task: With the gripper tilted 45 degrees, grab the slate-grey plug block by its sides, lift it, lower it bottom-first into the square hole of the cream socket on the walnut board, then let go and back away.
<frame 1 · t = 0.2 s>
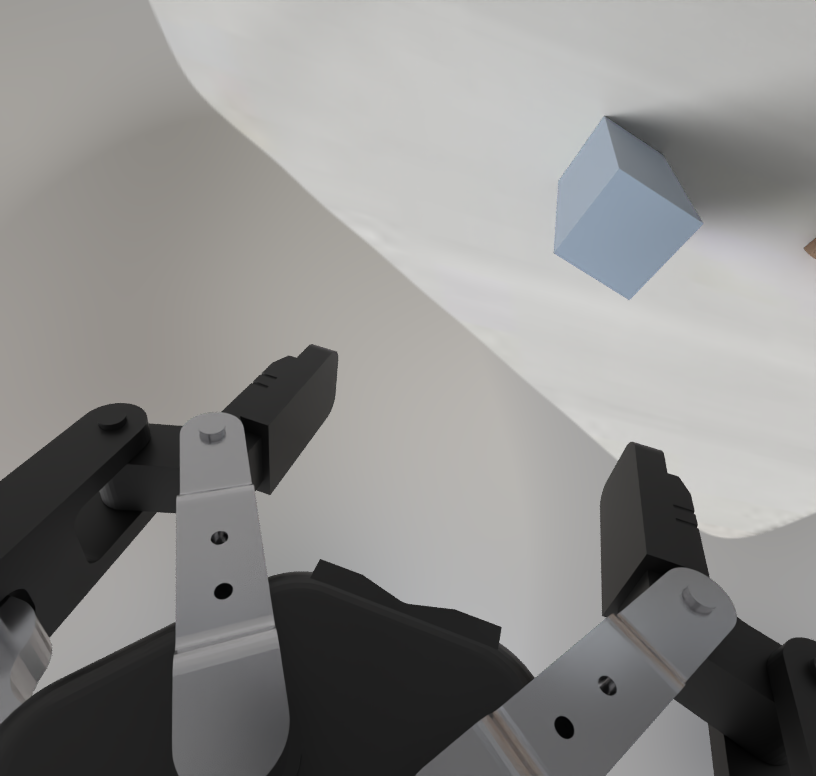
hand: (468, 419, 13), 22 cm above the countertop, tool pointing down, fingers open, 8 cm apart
plug: (608, 168, 29), on the countertop
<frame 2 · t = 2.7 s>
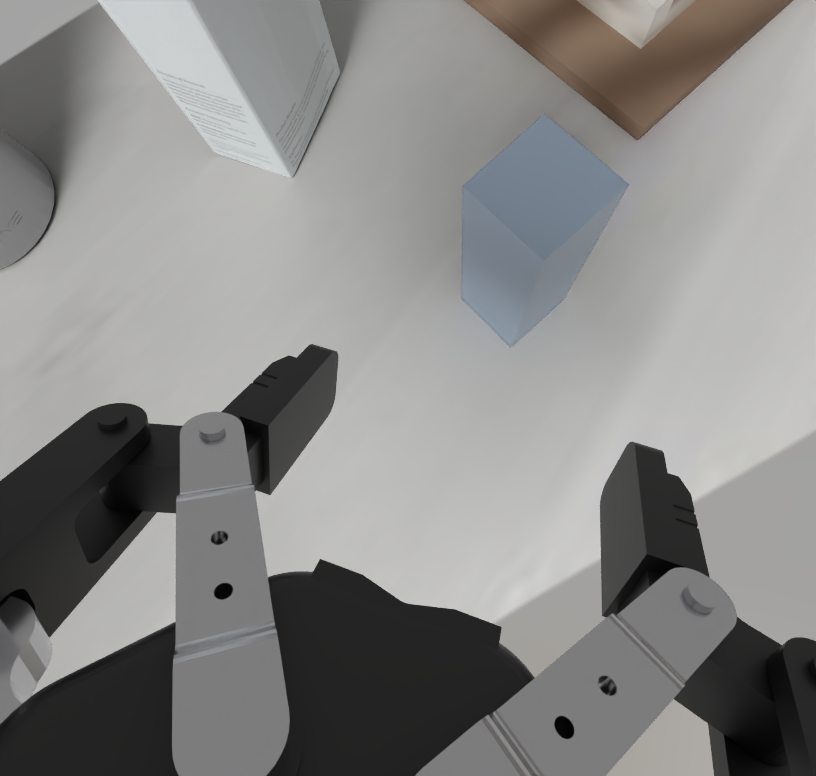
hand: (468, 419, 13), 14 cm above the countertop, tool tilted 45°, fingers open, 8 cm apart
plug: (511, 299, 28), on the countertop
skincare box: (281, 120, 32), on the countertop
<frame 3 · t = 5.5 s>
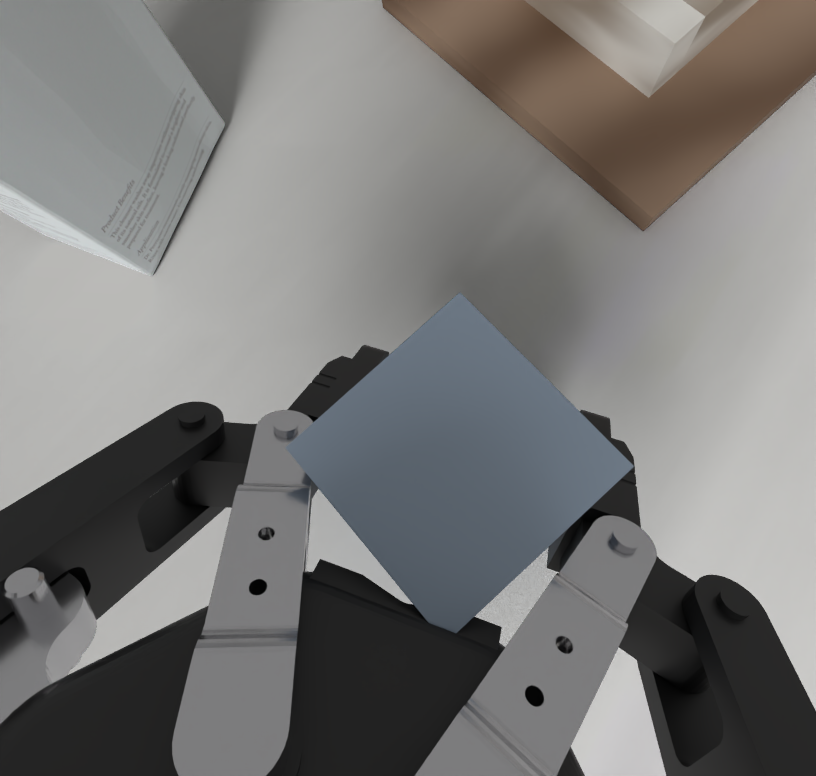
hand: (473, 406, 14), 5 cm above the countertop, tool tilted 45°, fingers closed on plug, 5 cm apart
plug: (455, 471, 19), on the countertop, touching gripper
skincare box: (144, 190, 23), on the countertop
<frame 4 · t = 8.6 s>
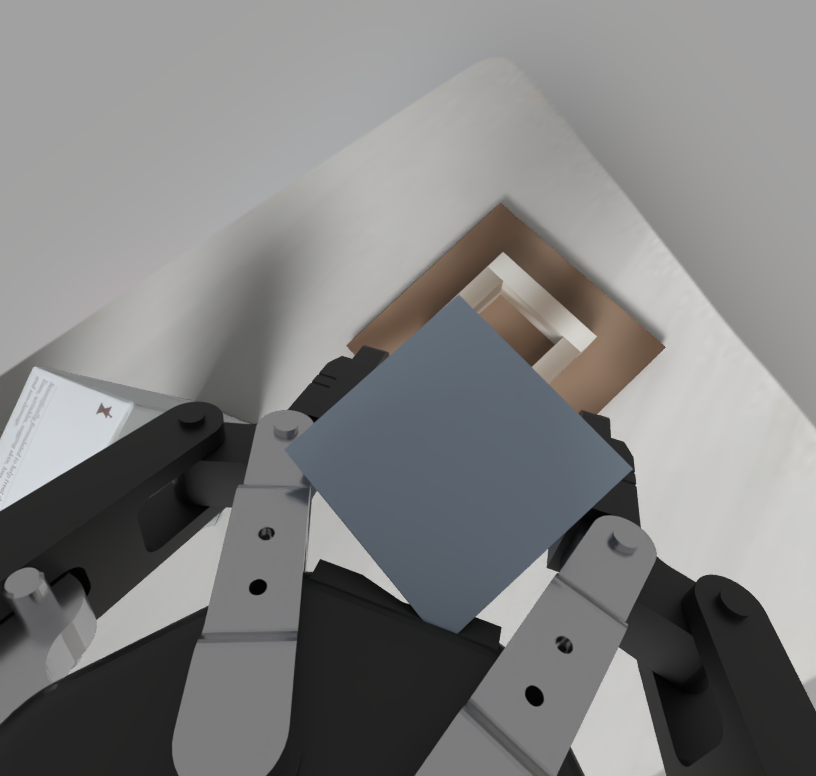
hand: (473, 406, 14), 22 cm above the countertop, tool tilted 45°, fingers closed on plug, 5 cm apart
plug: (455, 472, 19), point 17 cm above the countertop, touching gripper
socket board: (499, 350, 37), on the countertop
skincare box: (206, 466, 38), on the countertop
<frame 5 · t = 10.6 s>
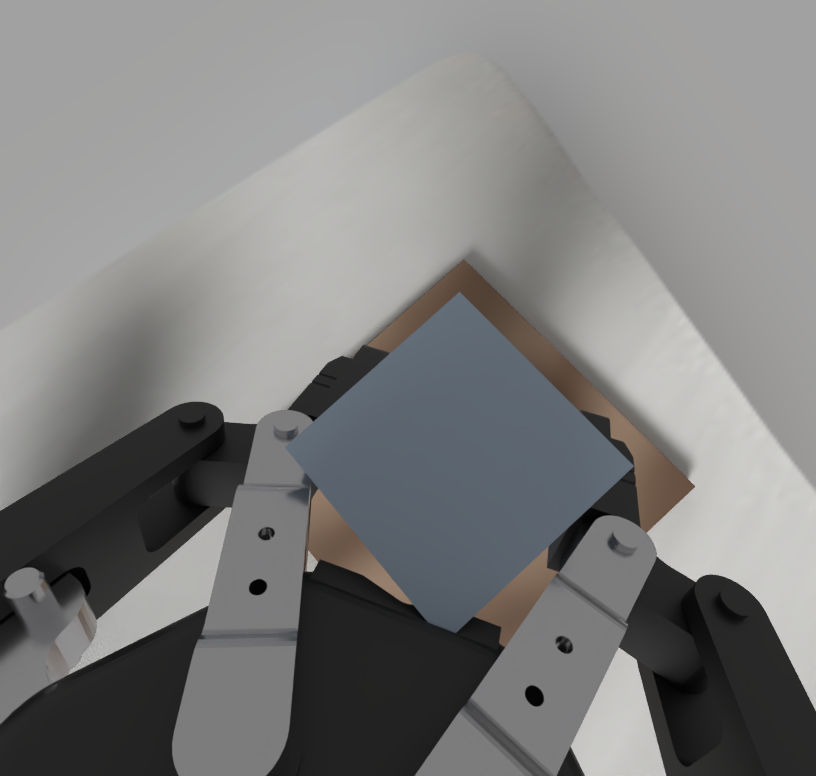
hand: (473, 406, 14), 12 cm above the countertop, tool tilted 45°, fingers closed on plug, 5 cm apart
plug: (456, 471, 19), point 7 cm above the countertop, touching gripper
socket board: (455, 472, 26), on the countertop
when the fingers open (8 cm above the countertop, at t = 12.0 s): plug drops 1 cm, resting on socket board.
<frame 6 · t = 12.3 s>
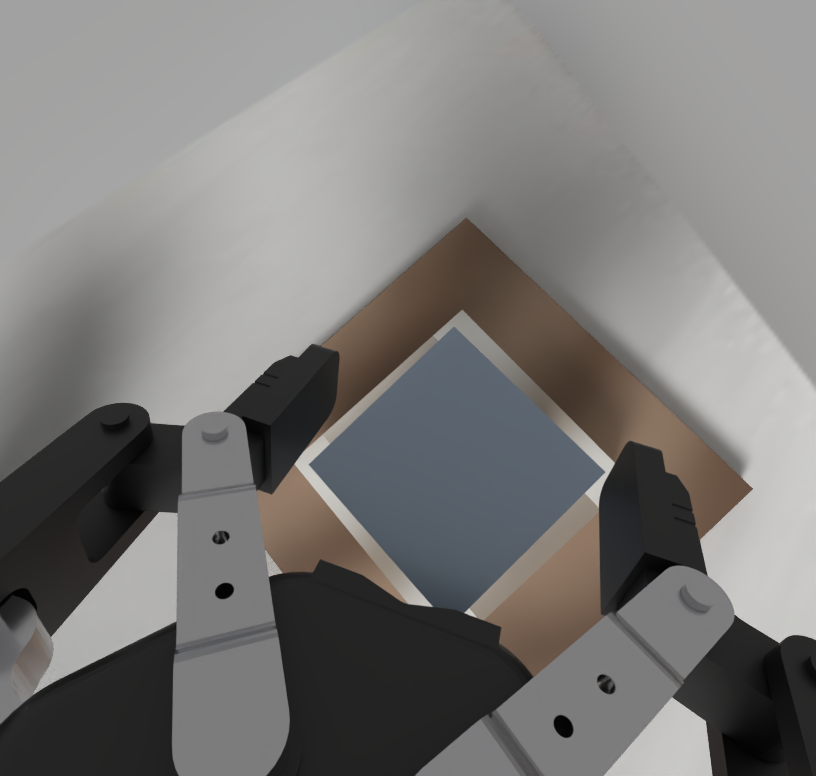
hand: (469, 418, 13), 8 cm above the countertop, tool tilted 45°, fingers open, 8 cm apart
plug: (456, 475, 20), point 1 cm above the countertop, touching socket board
socket board: (456, 472, 21), on the countertop
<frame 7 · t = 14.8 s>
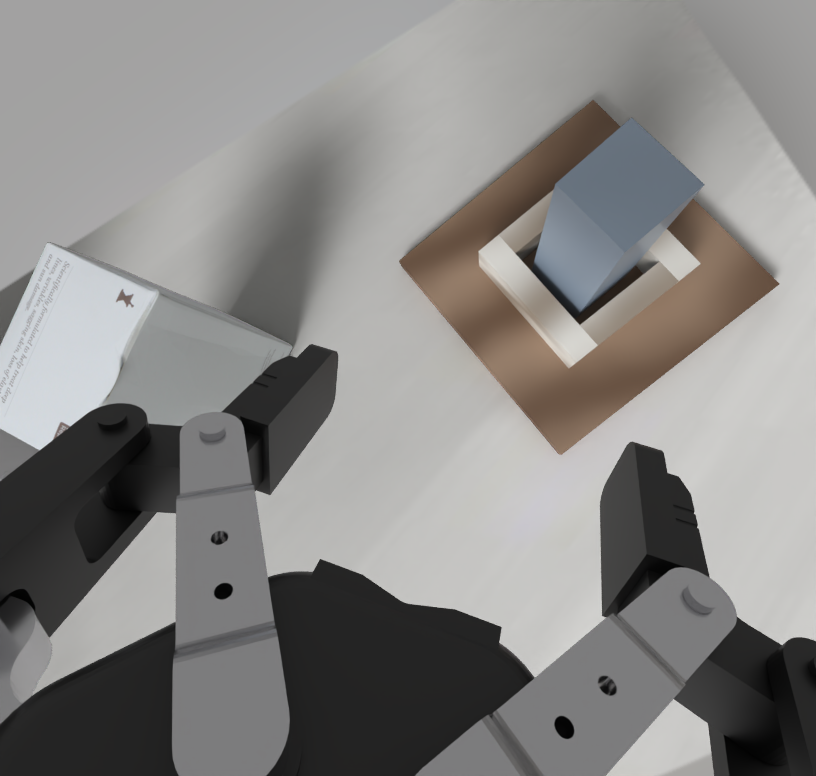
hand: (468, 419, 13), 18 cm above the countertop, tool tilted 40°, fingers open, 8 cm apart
plug: (577, 274, 31), point 1 cm above the countertop, touching socket board
socket board: (574, 276, 32), on the countertop
skincare box: (238, 385, 35), on the countertop
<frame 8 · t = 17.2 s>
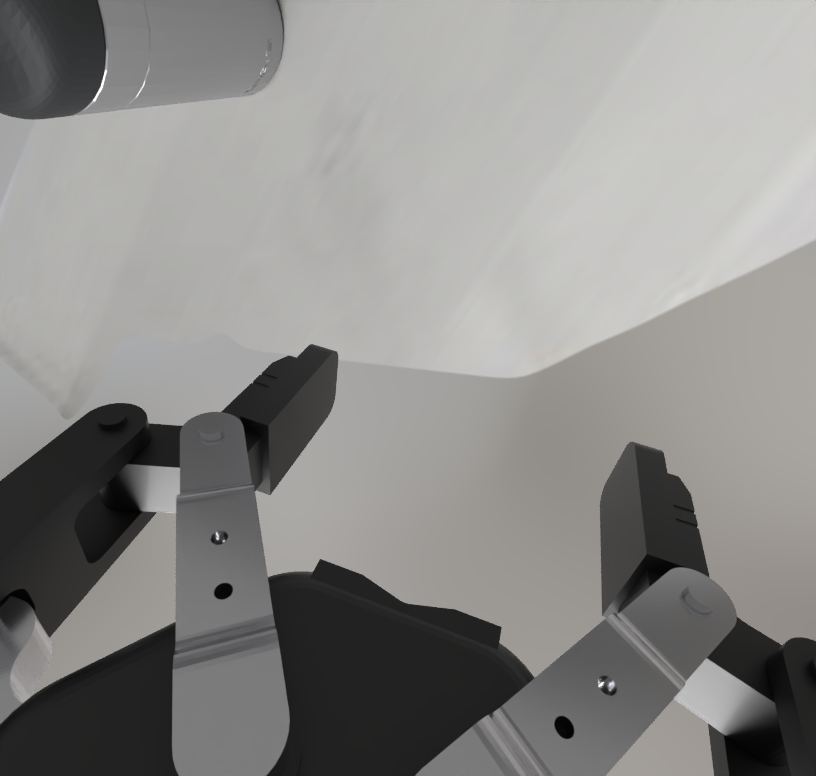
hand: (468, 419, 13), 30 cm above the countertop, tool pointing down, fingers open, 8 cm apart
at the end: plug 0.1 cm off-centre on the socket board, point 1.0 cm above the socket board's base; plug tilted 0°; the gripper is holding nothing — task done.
